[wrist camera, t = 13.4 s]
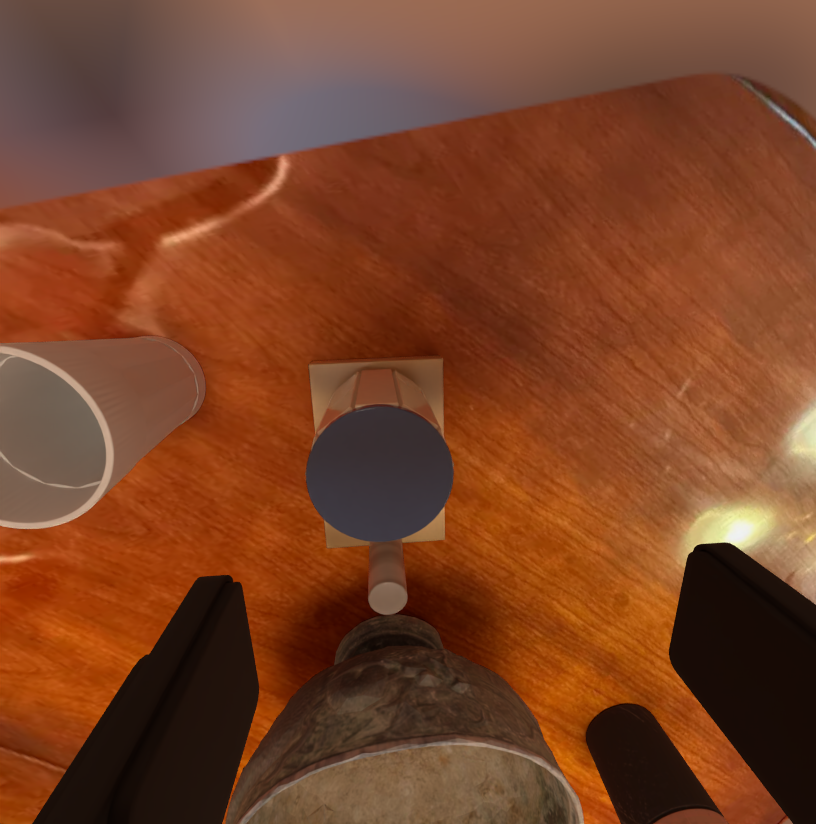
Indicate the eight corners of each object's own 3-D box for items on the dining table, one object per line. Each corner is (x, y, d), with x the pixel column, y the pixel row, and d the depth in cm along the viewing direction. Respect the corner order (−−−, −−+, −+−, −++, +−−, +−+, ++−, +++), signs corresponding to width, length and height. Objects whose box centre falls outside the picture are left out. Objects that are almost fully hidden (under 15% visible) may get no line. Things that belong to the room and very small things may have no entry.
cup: (239, 411, 29) (151, 487, 18) (137, 454, 30) (-14, 555, 18) (179, 303, 27) (34, 311, 16) (70, 351, 27) (-152, 392, 16)
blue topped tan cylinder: (322, 372, 26) (295, 410, 17) (429, 367, 26) (456, 402, 18) (330, 468, 28) (310, 547, 19) (431, 462, 28) (456, 537, 20)
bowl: (543, 604, 36) (654, 812, 22) (440, 758, 40) (477, 1018, 26) (332, 523, 32) (298, 708, 18) (243, 702, 36) (157, 969, 22)
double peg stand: (311, 360, 29) (271, 402, 18) (439, 355, 29) (478, 392, 18) (328, 537, 33) (304, 662, 22) (442, 529, 33) (475, 646, 22)
